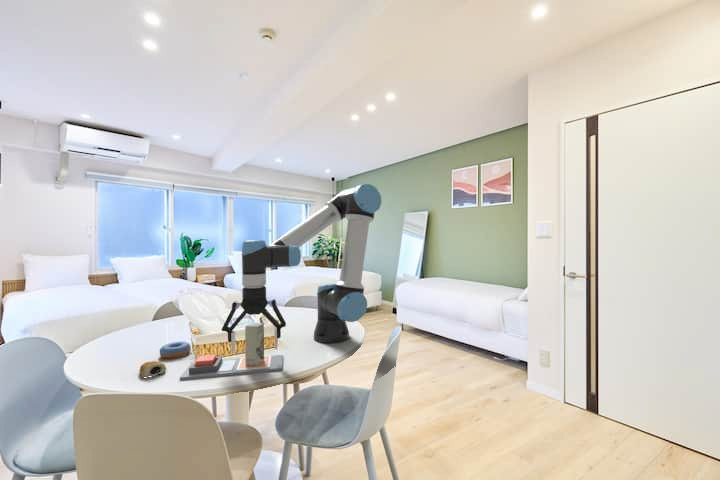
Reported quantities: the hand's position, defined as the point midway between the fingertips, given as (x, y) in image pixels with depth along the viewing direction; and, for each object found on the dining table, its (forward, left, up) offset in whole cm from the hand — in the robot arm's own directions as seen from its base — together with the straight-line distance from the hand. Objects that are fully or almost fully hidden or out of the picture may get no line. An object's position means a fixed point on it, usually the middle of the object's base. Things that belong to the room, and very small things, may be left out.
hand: (255, 349), depth 105 cm
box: (0, 0, -5) cm, 5 cm away
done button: (+15, 0, -3) cm, 15 cm away
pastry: (+32, -2, -6) cm, 32 cm away
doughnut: (+30, -18, -6) cm, 35 cm away
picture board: (+6, 0, -5) cm, 8 cm away
